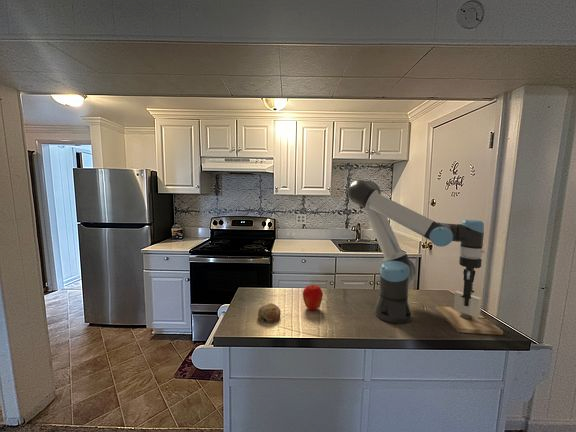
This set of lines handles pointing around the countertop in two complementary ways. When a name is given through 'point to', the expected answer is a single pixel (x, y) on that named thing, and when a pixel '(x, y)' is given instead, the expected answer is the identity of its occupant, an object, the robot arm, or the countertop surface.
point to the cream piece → (474, 306)
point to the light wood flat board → (468, 322)
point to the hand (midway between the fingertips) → (466, 309)
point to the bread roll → (269, 313)
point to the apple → (312, 297)
